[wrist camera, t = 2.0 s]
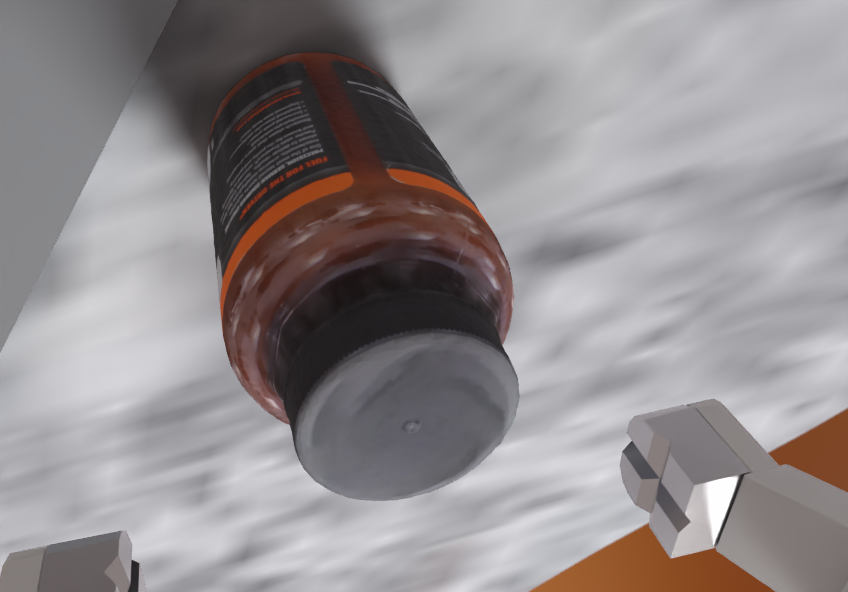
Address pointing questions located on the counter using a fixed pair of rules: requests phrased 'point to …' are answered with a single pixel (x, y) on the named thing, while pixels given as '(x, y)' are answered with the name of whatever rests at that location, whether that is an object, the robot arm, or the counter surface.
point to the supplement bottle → (357, 280)
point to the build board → (59, 117)
